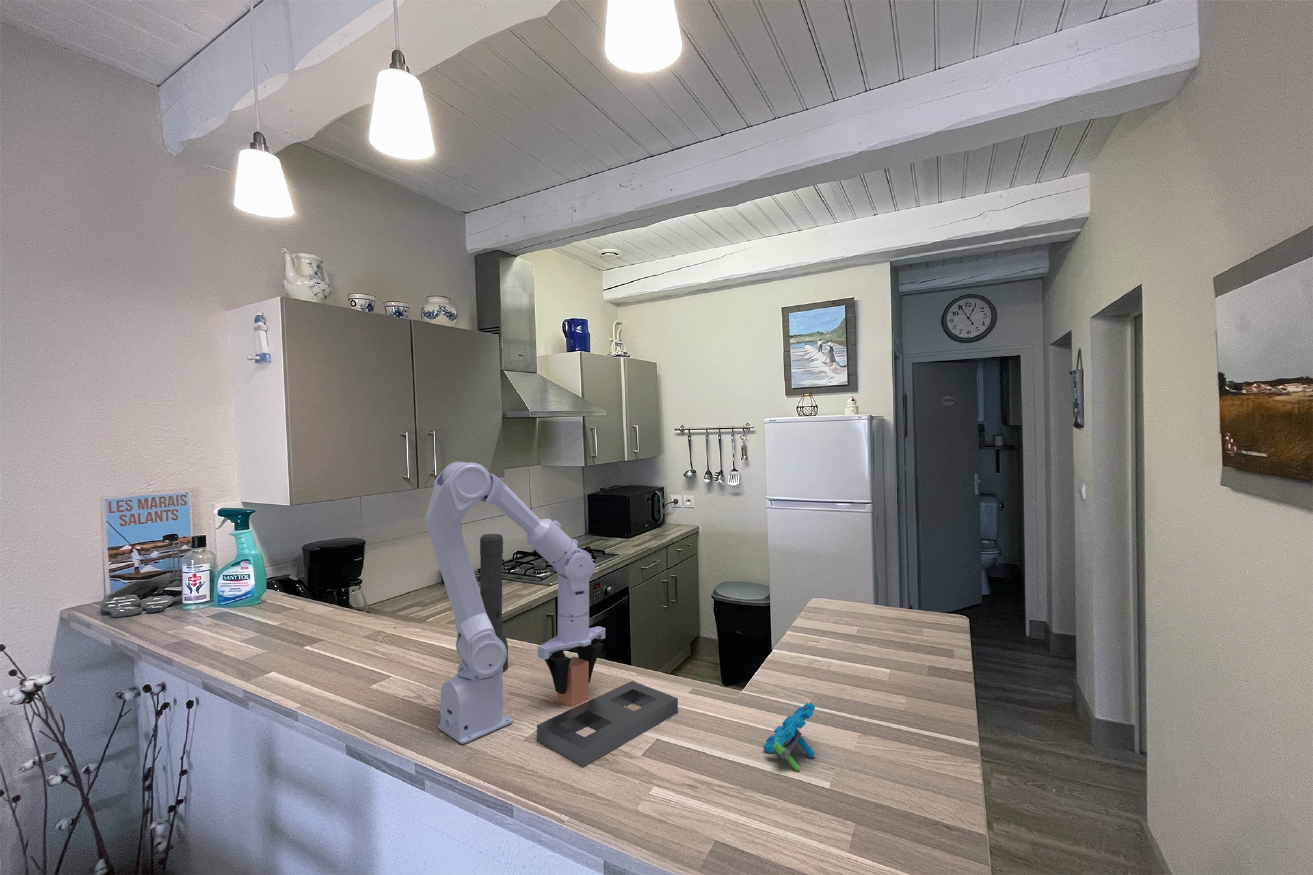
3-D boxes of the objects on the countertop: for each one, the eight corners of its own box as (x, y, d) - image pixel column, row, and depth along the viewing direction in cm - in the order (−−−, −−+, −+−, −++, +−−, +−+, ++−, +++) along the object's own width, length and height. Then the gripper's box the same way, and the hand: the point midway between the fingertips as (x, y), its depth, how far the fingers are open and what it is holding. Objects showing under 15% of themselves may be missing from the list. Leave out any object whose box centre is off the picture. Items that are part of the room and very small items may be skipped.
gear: (776, 718, 91) (816, 689, 86) (802, 750, 89) (845, 722, 84) (747, 758, 82) (790, 728, 77) (775, 795, 80) (821, 765, 75)
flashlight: (475, 678, 110) (510, 672, 113) (476, 538, 111) (511, 536, 114) (470, 665, 117) (504, 660, 120) (472, 533, 117) (505, 531, 120)
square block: (571, 707, 98) (571, 668, 98) (557, 700, 101) (557, 662, 101) (588, 699, 101) (588, 661, 101) (574, 693, 104) (574, 656, 104)
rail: (583, 767, 80) (583, 749, 80) (536, 740, 87) (536, 724, 87) (677, 712, 96) (677, 698, 96) (632, 694, 103) (632, 680, 103)
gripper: (556, 626, 93) (555, 707, 93) (616, 608, 104) (616, 680, 104) (530, 618, 98) (530, 695, 97) (591, 601, 109) (591, 670, 108)
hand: (573, 686), depth 101 cm, fingers open, 5 cm apart
